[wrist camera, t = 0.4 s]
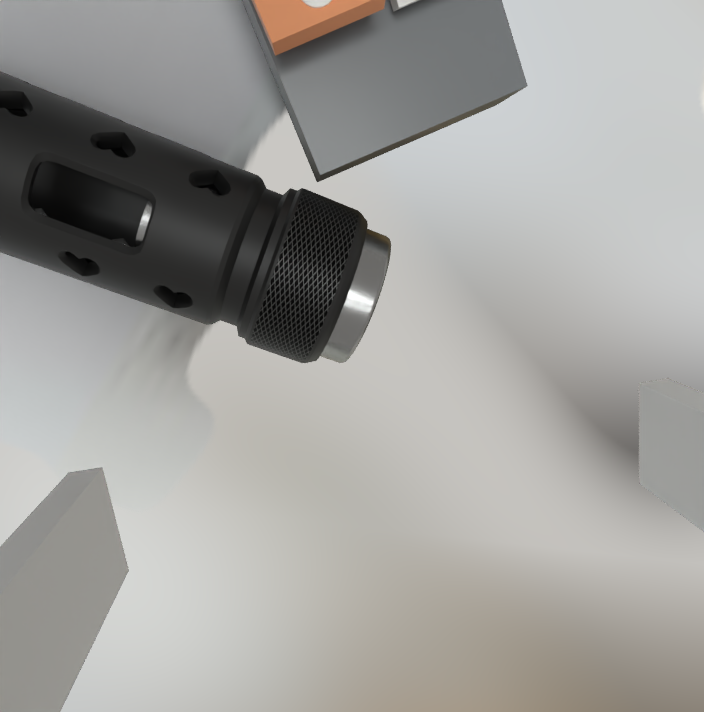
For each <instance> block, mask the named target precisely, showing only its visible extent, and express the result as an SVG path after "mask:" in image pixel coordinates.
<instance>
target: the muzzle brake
mask: <svg viewBox="0 0 704 712" xmlns="http://www.w3.org/2000/svg"><path fill="white" fill-rule="evenodd" d="M43 214H44V215H45V216H44V215H43ZM124 243H125V245H123V244H124ZM0 252H2V253H5V254H7V255H10V256H13V257H16V258H19V259H22V260H24V261H27V262H30V263H33V264H36V265H39V266H42V267H44V268H47V269H50V270H53V271H56V272H59V273H62V274H64V275H67V276H70V277H73V278H76V279H79V280H82V281H84V282H87V283H90V284H93V285H96V286H99V287H101V288H104V289H107V290H110V291H113V292H116V293H119V294H121V295H124V296H127V297H130V298H133V299H136V300H139V301H141V302H144V303H147V304H150V305H153V306H156V307H159V308H161V309H164V310H167V311H170V312H173V313H176V314H179V315H181V316H184V317H187V318H190V319H193V320H196V321H198V322H201V323H204V324H213V323H215V322H217V321H220V320H222V321H224V322H227V323H230V324H232V325H235V326H237V329H238V336H240V337H242V338H245V340H246V342H247V344H249V345H252V346H255V347H258V348H261V349H263V350H266V351H269V352H272V353H275V354H278V355H281V356H284V357H287V358H289V359H292V360H295V361H298V362H301V363H307V362H312V361H316V360H317V359H318V358H319V356H322V357H325V358H327V359H330V360H333V361H336V362H339V363H343V362H345V361H347V359H349V357H350V356H351V355H352V353H353V352H354V350H355V349H356V347H357V346H358V344H359V342H360V340H361V338H362V336H363V334H364V332H365V330H366V328H367V326H368V324H369V321H370V319H371V317H372V314H373V312H374V309H375V307H376V304H377V301H378V298H379V295H380V292H381V289H382V286H383V283H384V280H385V276H386V272H387V268H388V264H389V259H390V252H391V242H390V239H389V238H388V237H386V236H384V235H382V234H379V233H376V232H374V231H371V230H369V229H367V221H366V219H365V218H364V217H363V215H362V214H361V213H360V212H359V211H358V210H355V209H353V208H350V207H347V206H345V205H343V204H340V203H338V202H335V201H333V200H331V199H328V198H326V197H323V196H321V195H318V194H316V193H313V192H311V191H308V190H306V189H303V188H302V189H300V190H298V191H296V190H294V189H289V190H288V191H287V192H286V193H285V194H284V195H281V194H278V193H276V192H273V191H271V190H268V189H266V187H265V185H264V182H263V180H262V179H261V178H260V177H259V176H257V175H255V174H253V173H250V172H248V171H245V170H241V169H239V168H236V167H234V166H231V165H229V164H227V163H224V162H221V161H219V160H216V159H214V158H211V157H210V156H208V155H206V154H203V153H201V152H198V151H196V150H193V149H191V148H188V147H186V146H183V145H181V144H178V143H176V142H173V141H171V140H168V139H166V138H164V137H161V136H158V135H155V134H152V133H150V132H147V131H145V130H142V129H140V128H138V127H135V126H132V125H130V124H127V123H125V122H123V121H121V120H119V119H117V118H114V117H112V116H109V115H107V114H104V113H102V112H99V111H97V110H94V109H92V108H89V107H87V106H84V105H82V104H80V103H77V102H75V101H72V100H70V99H67V98H64V97H61V96H58V95H56V94H53V93H51V92H48V91H46V90H44V89H41V88H39V87H36V86H33V85H31V84H29V83H27V82H25V81H23V80H20V79H18V78H15V77H13V76H10V75H8V74H5V73H3V72H0Z"/></svg>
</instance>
